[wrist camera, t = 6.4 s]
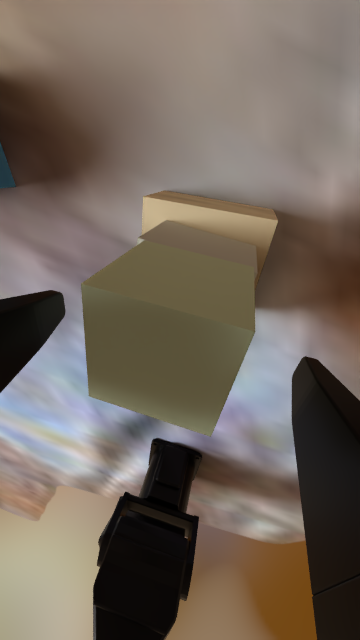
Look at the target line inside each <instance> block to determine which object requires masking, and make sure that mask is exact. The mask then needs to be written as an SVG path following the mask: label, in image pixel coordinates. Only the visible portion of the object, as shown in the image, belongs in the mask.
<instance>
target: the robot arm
mask: <svg viewBox="0 0 360 640" xmlns="http://www.w3.org/2000/svg"><path fill="white" fill-rule="evenodd" d="M64 315H65V305H64V298H63V295H62V293H60V292H57V291H53V290H48V291H43V292H38V293H32V294H27V295H22V296H16V297H11V298H6V299H0V393H1V392H2V391H3V389H4V388H5V387H6V386H7V385H8V384H9V383H10V382H11V381H12V380H13V378H14V377H15V376H16V375H17V374H18V373H19V372H20V371H21V370H22V368H23V367H24V366H25V365H26V364H27V363H28V362H29V361H30V360H31V358H32V357H33V356H34V355H35V354H36V353H37V352H38V351H39V350H40V348H41V347H42V346H43V345H44V343H45V342H46V341H47V339H48V338H49V337H50V335H51V334H52V333H53V331H54V330H55V328H56V327H57V326H58V324H59V323H60V322H61V320H62V319H63V317H64ZM292 427H293V436H294V444H295V453H296V461H297V470H298V478H299V487H300V495H301V504H302V512H303V521H304V529H305V538H306V546H307V555H308V564H309V572H310V580H311V589H312V594H313V597H312V599H313V608H314V617H315V625H316V634H317V640H360V401H359V400H358V399H357V398H356V397H355V396H354V395H353V394H352V393H351V392H350V391H349V390H348V389H347V388H346V387H345V386H344V385H343V384H342V383H341V382H340V381H339V380H338V379H337V378H336V377H335V376H334V375H333V374H332V373H331V372H330V371H329V370H328V369H327V368H326V367H324V366H323V365H322V364H321V363H320V362H319V361H318V360H317V359H314V358H310V357H306V356H305V357H303V358H302V359H301V361H300V363H299V364H298V366H297V368H296V370H295V371H294V373H293V376H292ZM201 459H202V455H201V454H200V453H197V452H194V451H191V450H188V449H185V448H182V447H179V446H176V445H173V444H170V443H167V442H164V441H160V440H157V439H153V440H152V444H151V451H150V458H149V468H148V471H147V474H146V477H145V480H144V482H143V485H142V488H141V491H140V494H139V497H137V496H134V495H131V494H130V493H128V492H125V493H124V496H121V497H120V498H119V501H118V503H117V506H116V509H115V511H114V513H113V515H112V517H111V518H110V520H109V522H108V524H107V525H106V527H105V529H104V531H103V532H102V534H101V536H100V538H99V542H98V543H99V547H100V551H99V556H98V561H97V566H99V567H100V569H99V572H98V574H97V577H96V580H95V583H94V587H93V632H94V633H93V640H165V639H166V637H167V636H168V634H169V632H170V631H171V629H172V627H173V625H174V623H175V621H176V617H177V612H178V607H179V600H180V599H182V600H184V601H186V600H187V596H188V592H189V587H190V582H191V576H192V570H193V563H194V562H193V561H194V555H195V546H196V537H197V529H198V521H199V517H198V516H195V515H194V516H192V515H189V514H186V511H187V505H188V500H189V495H190V490H191V484H192V481H193V480H194V478H195V475H196V473H197V470H198V467H199V465H200V462H201ZM185 536H186V537H188V538H184V537H185Z"/></svg>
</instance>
